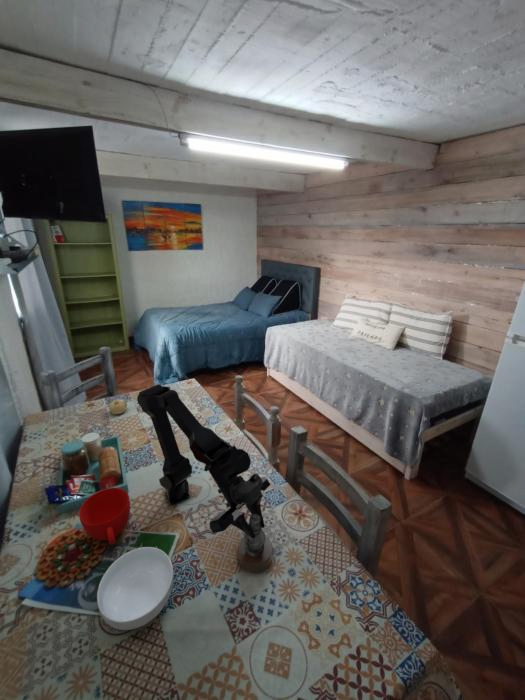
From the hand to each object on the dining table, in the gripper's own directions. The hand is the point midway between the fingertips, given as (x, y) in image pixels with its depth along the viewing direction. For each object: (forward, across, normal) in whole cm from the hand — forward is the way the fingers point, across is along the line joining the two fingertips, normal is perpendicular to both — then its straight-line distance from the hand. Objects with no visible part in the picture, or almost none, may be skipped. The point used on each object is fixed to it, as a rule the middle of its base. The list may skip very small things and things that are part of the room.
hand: (258, 532), depth 82 cm
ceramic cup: (-19, -21, +34) cm, 45 cm away
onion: (-62, +15, +78) cm, 100 cm away
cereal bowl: (-4, -25, +19) cm, 32 cm away
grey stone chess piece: (+4, 0, +6) cm, 7 cm away
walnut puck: (+6, 0, +8) cm, 10 cm away
